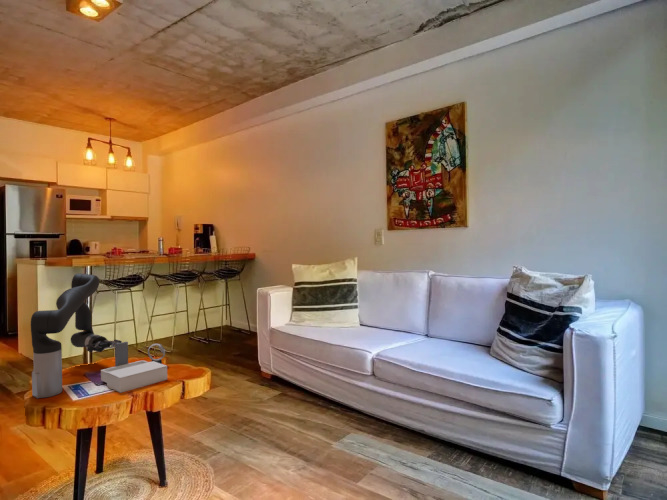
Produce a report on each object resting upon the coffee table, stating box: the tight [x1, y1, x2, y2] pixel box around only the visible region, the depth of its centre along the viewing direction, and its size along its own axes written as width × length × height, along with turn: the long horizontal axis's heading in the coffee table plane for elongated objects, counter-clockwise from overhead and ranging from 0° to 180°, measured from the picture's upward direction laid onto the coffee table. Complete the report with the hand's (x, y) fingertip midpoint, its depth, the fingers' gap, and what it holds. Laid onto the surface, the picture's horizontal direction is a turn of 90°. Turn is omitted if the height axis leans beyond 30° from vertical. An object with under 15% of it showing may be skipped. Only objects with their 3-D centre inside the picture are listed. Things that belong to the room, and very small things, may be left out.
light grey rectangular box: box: [106, 360, 168, 393], centre depth 174 cm, size 20×12×6 cm, turn 142°
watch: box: [147, 343, 167, 364], centre depth 197 cm, size 6×8×11 cm
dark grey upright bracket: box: [100, 341, 149, 384], centre depth 180 cm, size 18×13×14 cm
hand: (110, 347), depth 190 cm, fingers open, 8 cm apart
